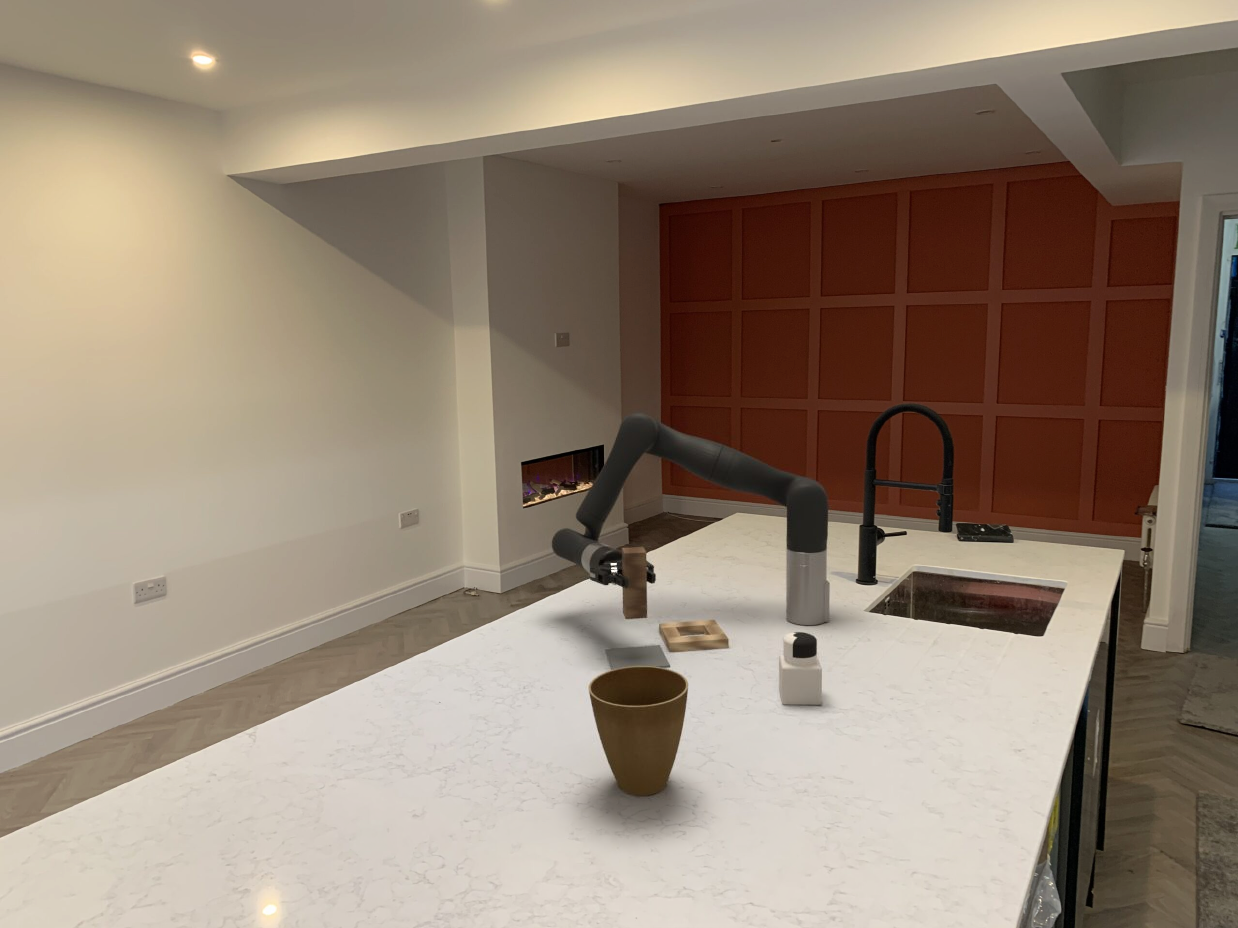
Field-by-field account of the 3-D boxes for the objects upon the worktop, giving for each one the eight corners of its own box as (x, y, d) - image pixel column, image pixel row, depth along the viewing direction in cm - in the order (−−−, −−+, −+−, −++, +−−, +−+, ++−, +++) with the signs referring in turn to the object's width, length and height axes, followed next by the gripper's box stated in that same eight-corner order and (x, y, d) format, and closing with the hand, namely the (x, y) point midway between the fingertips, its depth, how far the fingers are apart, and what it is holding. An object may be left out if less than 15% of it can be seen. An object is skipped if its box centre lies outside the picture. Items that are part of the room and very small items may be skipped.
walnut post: (643, 611, 184) (643, 546, 181) (647, 617, 179) (646, 552, 177) (622, 612, 183) (621, 547, 181) (625, 619, 179) (624, 553, 176)
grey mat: (659, 646, 189) (659, 644, 189) (670, 667, 177) (670, 665, 177) (605, 650, 188) (605, 648, 187) (611, 671, 176) (611, 669, 176)
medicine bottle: (816, 689, 164) (817, 628, 163) (821, 705, 157) (822, 642, 156) (778, 689, 165) (778, 628, 163) (782, 704, 158) (782, 642, 156)
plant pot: (632, 751, 142) (630, 658, 139) (708, 778, 132) (707, 679, 130) (571, 789, 130) (567, 688, 128) (649, 822, 121) (647, 714, 119)
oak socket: (714, 627, 200) (714, 619, 200) (728, 647, 187) (728, 638, 187) (659, 631, 198) (658, 623, 198) (669, 651, 186) (669, 642, 185)
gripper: (574, 550, 189) (608, 568, 174) (632, 541, 195) (670, 558, 180) (574, 583, 190) (609, 604, 175) (632, 573, 196) (670, 593, 181)
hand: (640, 580), depth 178 cm, fingers closed on walnut post, 5 cm apart
